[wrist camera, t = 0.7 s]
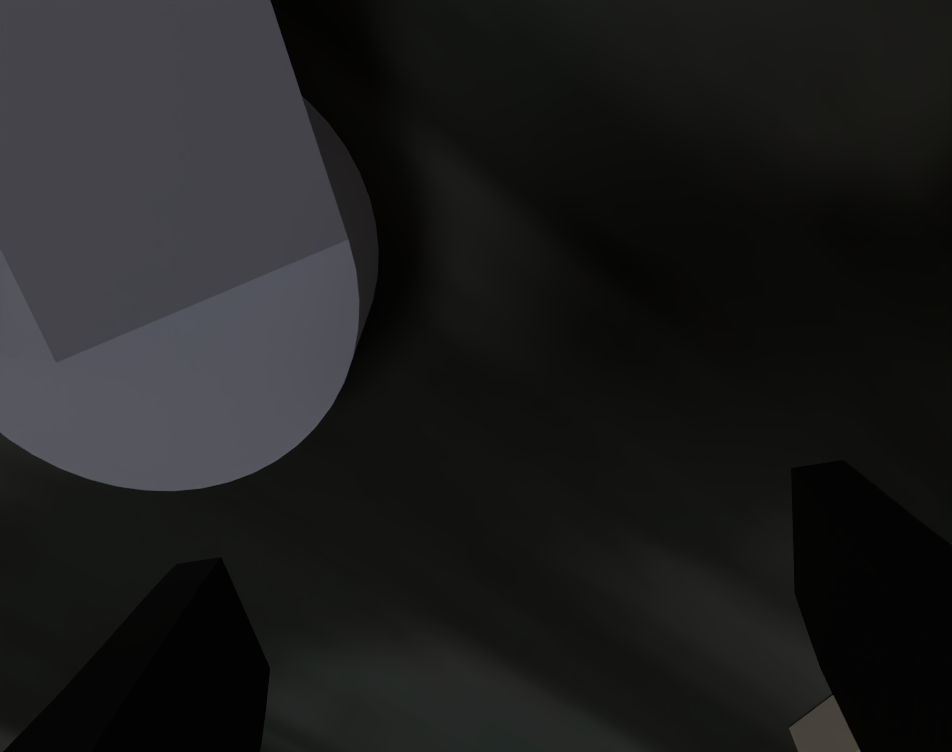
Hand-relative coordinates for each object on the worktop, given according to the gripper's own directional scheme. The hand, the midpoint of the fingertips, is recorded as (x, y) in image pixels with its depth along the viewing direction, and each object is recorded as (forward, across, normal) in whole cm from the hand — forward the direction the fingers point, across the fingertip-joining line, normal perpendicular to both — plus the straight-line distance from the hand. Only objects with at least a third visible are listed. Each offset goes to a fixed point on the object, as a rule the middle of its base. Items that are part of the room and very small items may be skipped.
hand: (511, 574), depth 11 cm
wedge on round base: (+11, +7, -3) cm, 14 cm away
